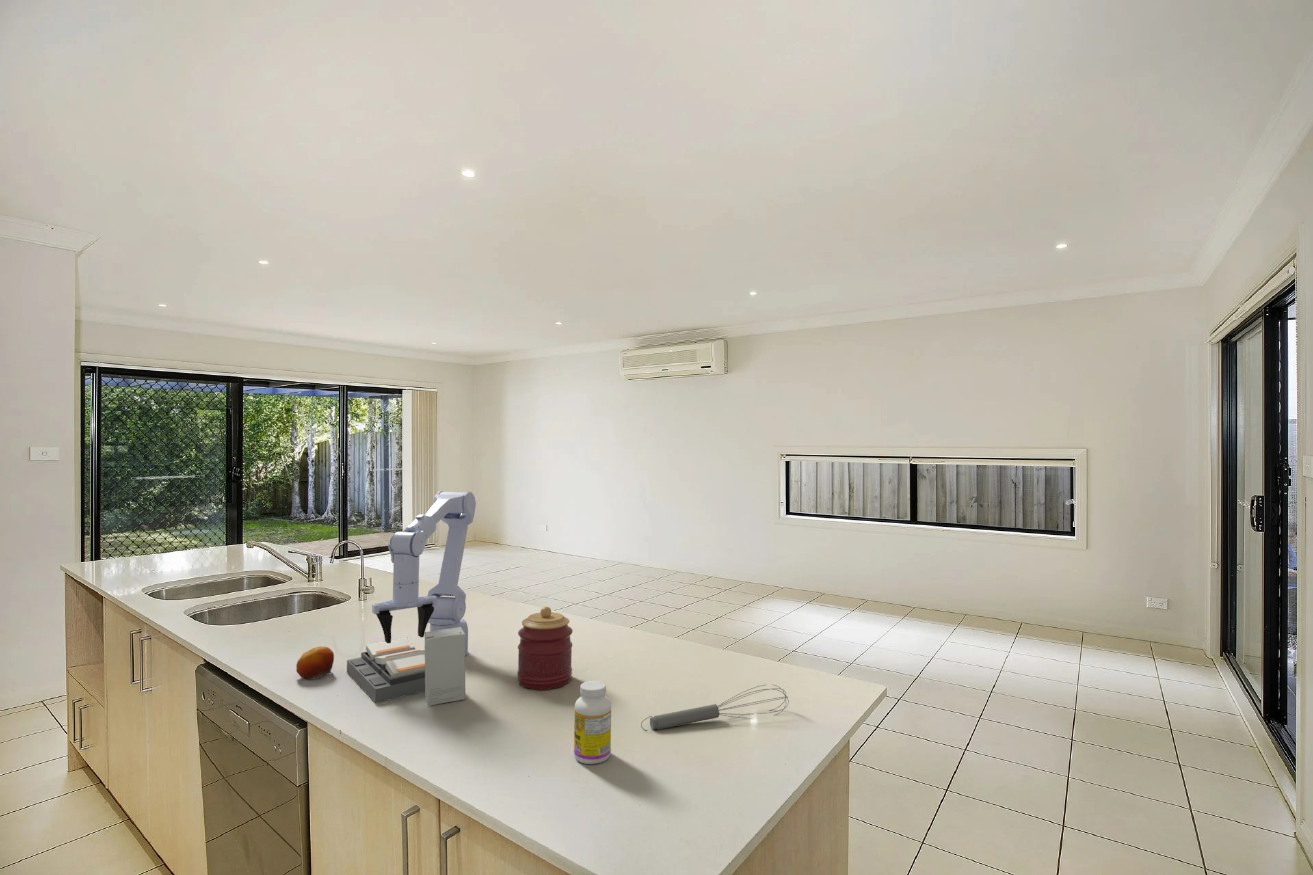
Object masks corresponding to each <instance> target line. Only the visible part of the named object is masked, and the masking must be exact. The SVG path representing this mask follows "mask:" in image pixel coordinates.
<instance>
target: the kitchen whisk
mask: <svg viewBox="0 0 1313 875" xmlns="http://www.w3.org/2000/svg"><path fill="white" fill-rule="evenodd" d="M764 686H766V684H763V685H762V684H761V685H758V686H755V687H751V688H750V689H746V690H744V691H742V692H740V693H738V694H736V695H734V696H732V697H730V698H728V699H727V700H725V701H723V702H722V703H719V704H716V703H714V704H709V705H704V706H698V707H694V708H693V707H692V708H688V709H683V710H678V711H673V712H668V713H663V714H659V715H654V716H652V715H650V716H647V717H646V718H644V719H643V720H642V722H641V724H640V725H641V726H640V727H641V729H642V730H644V731H646V732H647V731H649V730H647V729H645V728H643V722H644V721H645V720H647V719H649V725H650V729H651V731H655V730H656V731H658V730H664V729H668V728H674V727H678V726H683V725H689V724H693V723H698V722H702V721H708V720H712V719H717V718H719V717H720V716H723V717H730V718H735V715H741V716H736V718H738V719H739V718H740V719H746V717H745V715H747V716H748V715H751V716H753V713H730V715H728V712H727V713H723V712H720V711H726V710H731V709H737V708H742V707H748V706H752V705H758V704H763V703H768V702H773V701H779V700H783V699H784V700H783V702H782V703H781V704H780V705H779V706H777V707H776V708H773V709H772V708H771V709H770V710H768V714H772V713H775V714H773V716H777V715H779V714H780V713H781V712H783V711H784V710H785V709H786V708H787V707H788V706H789V704H790V701H789V696H787V692H786V691H785V690H784V688H781V687H780V686H779V685H777V684H776V685H775V684H773V686H774V688H773V687H772V688H763V689H758V690H753V689H755V688H759V687H764ZM750 690H753V691H750ZM770 690H771V691H772V690H773V691H778V692H780V693H782V694H783V695H784V696H780V697H773V698H769V699H763V700H758V701H753V702H749V703H744V704H739V705H735V706H730V707H729V706H728V707H725V708H721V707H724V706H726V705H728V704H730V703H733V702H736V701H738V700H740V699H744V698H745V697H748V696H751V695H754V694H757V693H761V692H764V691H770ZM748 691H749V692H748ZM744 693H745V694H744ZM741 694H742V695H741ZM786 700H787V702H788V703H785V702H786ZM784 703H785V704H784ZM783 704H784V707H783V708H781V709H779V710H776V709H778V708H780V707H781V706H782V705H783ZM720 708H721V709H720ZM773 710H774V711H773ZM777 712H778V713H777ZM764 714H767V712H762V713H761V712H760V713H758V715H764ZM733 715H734V716H733ZM742 715H743V716H744V717H742Z"/></svg>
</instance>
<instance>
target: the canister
mask: <svg viewBox="0 0 1313 875" xmlns="http://www.w3.org/2000/svg"><path fill="white" fill-rule="evenodd" d="M569 623H570V619H569V618H568V617H566V616H564V615H563V614H562V613H559V612H553V611H552V609H551V608H550V607H549V606H543V607H542V608H540V611H539V612H536V613H532V614H530V615H529V616H527V617H525V619H523V620H522V621H521V625H522V626H523V627H521V628H520V629H519V630H518V632H517V634H518V637H520V640H519V643H518V646H517V649H518V661H517V663H518V667H517V668H518V669H517V671H516V672H517V679H518V680H517V681H518V682H517V683H518V684H519V685H520V686H521V687H524V688H526V689H530V690H537V691H539V690H540V691H543V690H552V689H553V690H554V689H556V688H557V689H558V688H561V687H562V686H565V685H567V684H569V683H570V682H571V680H572V674H573V668H572V650H573V649H572V648H573V642H572V641H571V640H572V639H571V635H572V634H573V629H572V627H570V626H569Z"/></svg>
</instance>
